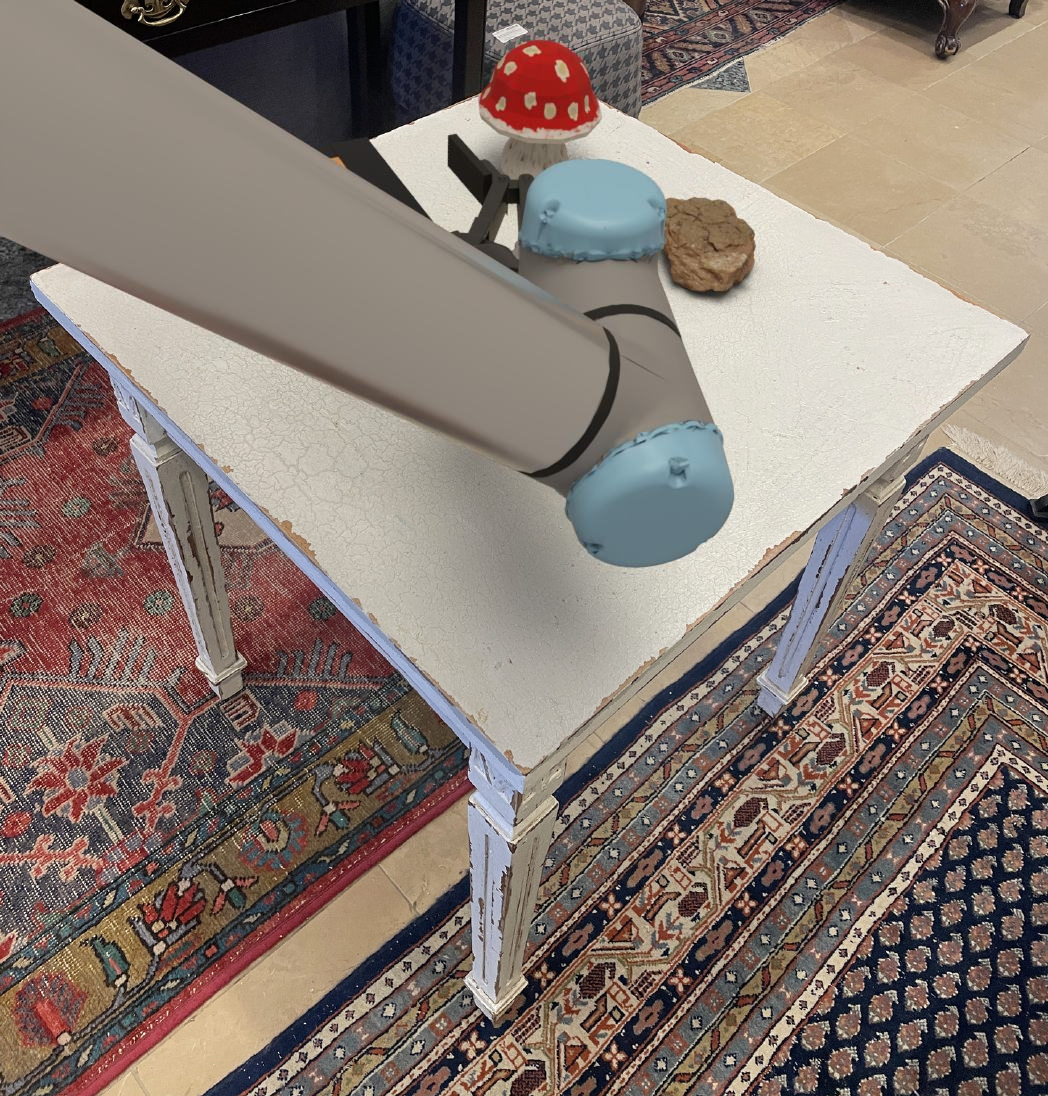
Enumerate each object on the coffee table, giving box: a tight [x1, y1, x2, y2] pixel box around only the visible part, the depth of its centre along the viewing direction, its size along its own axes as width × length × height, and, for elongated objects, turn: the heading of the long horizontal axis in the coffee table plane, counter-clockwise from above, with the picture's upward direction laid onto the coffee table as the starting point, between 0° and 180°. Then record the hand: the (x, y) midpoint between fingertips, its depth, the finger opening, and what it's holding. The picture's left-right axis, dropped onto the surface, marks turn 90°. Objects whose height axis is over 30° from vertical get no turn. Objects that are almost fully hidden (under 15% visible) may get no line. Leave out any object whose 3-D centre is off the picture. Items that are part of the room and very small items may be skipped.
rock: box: [662, 196, 757, 292], centre depth 101 cm, size 13×11×5 cm
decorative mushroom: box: [477, 39, 603, 180], centre depth 106 cm, size 14×14×15 cm
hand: (375, 165), depth 77 cm, fingers open, 13 cm apart
